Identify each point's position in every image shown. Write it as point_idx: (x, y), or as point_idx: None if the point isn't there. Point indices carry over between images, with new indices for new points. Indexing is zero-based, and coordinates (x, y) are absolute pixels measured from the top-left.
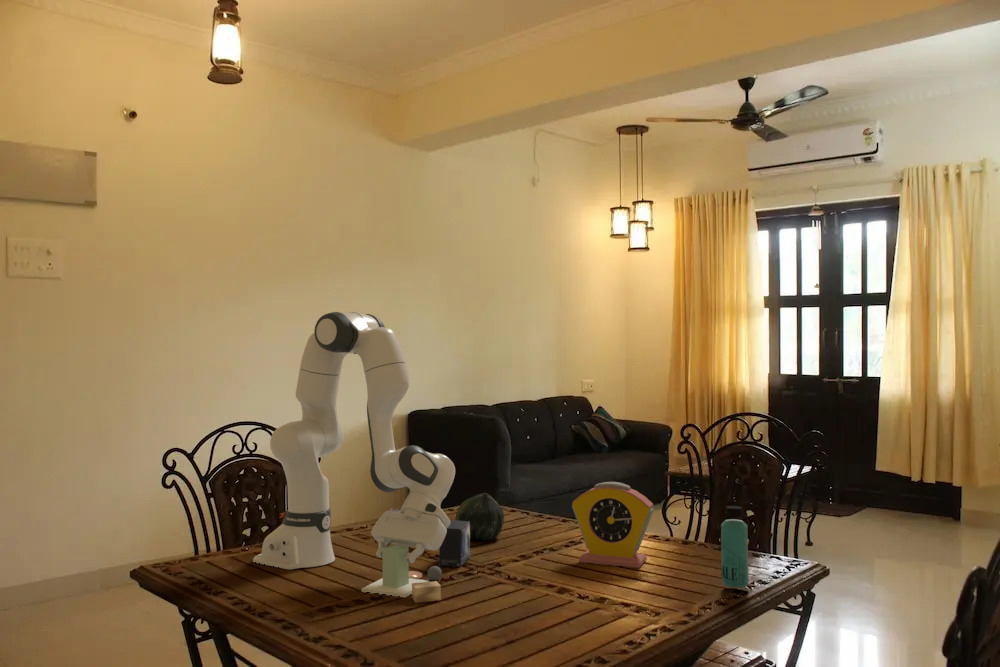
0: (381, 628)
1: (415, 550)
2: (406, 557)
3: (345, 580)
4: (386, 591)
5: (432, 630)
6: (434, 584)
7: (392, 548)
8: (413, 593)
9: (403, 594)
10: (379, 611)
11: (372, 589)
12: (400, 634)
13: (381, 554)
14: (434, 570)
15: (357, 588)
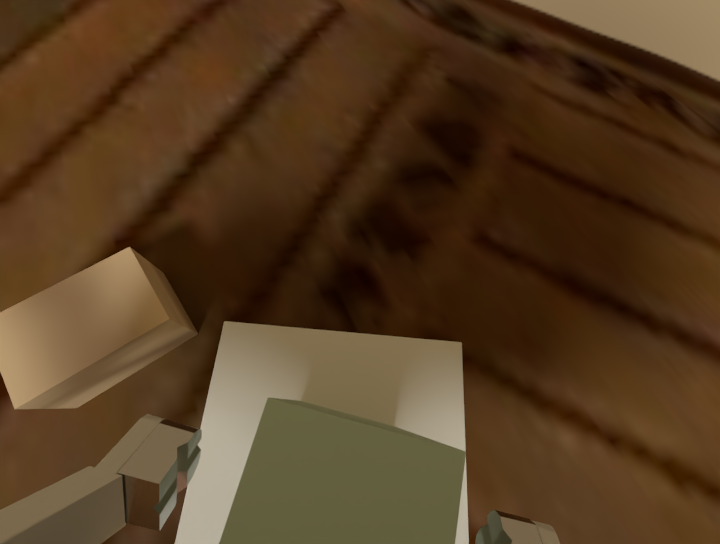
0: (208, 40)
1: (43, 495)
2: (187, 434)
3: (650, 511)
4: (328, 332)
5: (41, 49)
6: (24, 334)
7: (354, 483)
8: (168, 295)
9: (235, 323)
10: (272, 155)
11: (406, 343)
12: (137, 15)
13: (492, 528)
14: None
15: (506, 392)
